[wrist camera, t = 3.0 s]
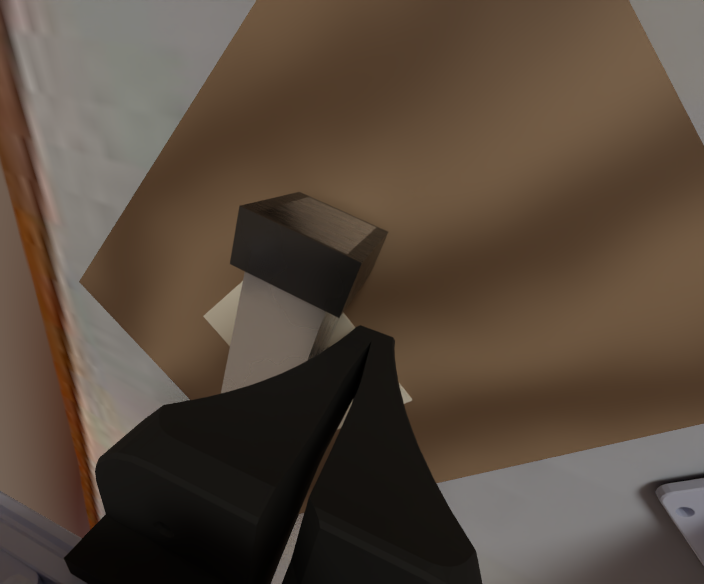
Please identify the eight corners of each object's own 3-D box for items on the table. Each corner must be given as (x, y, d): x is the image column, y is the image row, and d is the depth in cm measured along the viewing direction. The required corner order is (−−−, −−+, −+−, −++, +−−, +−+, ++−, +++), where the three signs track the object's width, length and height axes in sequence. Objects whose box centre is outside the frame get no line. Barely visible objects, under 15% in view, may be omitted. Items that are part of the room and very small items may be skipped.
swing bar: (279, 483, 17) (245, 548, 14) (230, 455, 17) (188, 513, 15) (388, 231, 10) (361, 262, 7) (299, 191, 10) (239, 205, 7)
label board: (802, 376, 9) (836, 397, 8) (303, 501, 19) (297, 516, 18) (460, -271, 6) (461, -333, 5) (95, 276, 17) (76, 282, 16)
